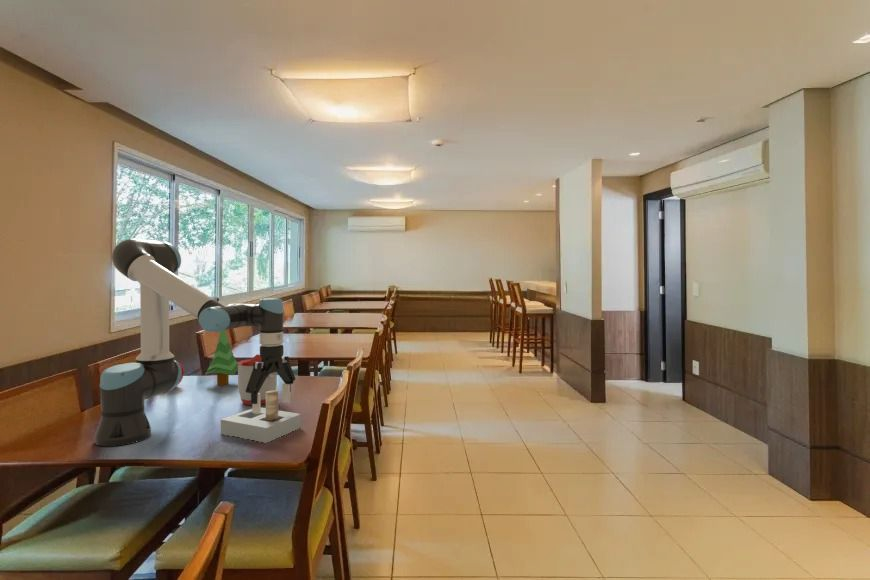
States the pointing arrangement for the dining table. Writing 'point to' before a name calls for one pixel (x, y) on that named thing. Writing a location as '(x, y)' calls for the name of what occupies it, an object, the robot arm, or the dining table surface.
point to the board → (260, 425)
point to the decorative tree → (223, 361)
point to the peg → (272, 406)
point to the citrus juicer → (244, 375)
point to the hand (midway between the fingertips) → (271, 407)
